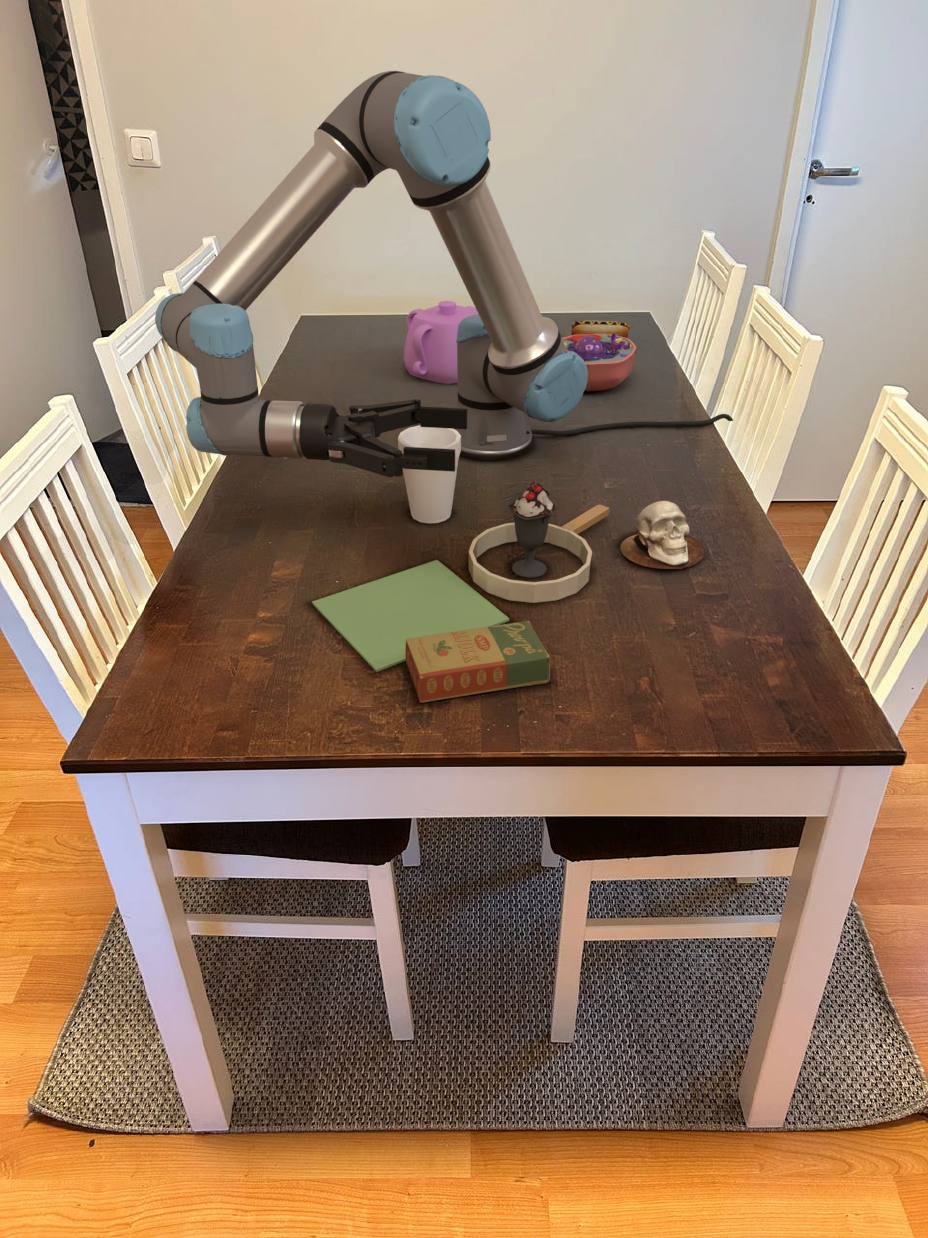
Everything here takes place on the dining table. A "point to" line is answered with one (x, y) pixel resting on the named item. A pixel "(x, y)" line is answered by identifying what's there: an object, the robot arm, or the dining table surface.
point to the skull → (662, 539)
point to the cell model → (603, 358)
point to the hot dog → (600, 327)
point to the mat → (405, 611)
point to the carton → (476, 661)
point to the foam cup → (430, 474)
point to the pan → (555, 536)
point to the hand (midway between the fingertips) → (461, 438)
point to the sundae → (531, 527)
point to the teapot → (434, 341)
